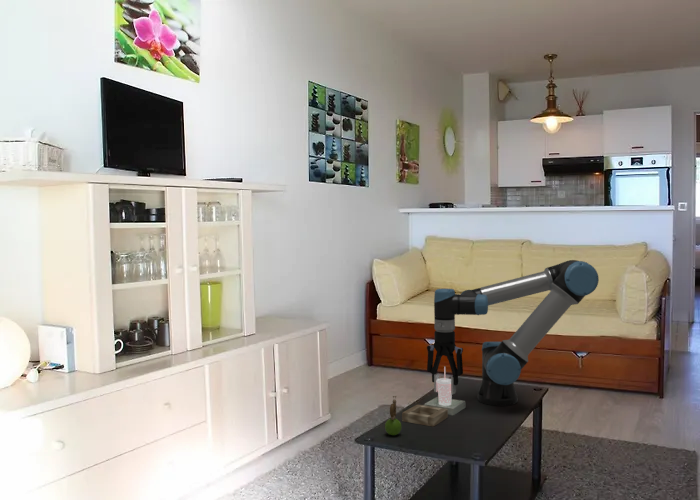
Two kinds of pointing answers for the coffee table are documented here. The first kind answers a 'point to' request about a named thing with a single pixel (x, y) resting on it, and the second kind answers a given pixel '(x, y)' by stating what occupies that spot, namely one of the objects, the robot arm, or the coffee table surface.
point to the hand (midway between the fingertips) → (444, 392)
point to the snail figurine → (393, 421)
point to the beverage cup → (444, 390)
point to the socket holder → (425, 415)
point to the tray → (452, 409)
